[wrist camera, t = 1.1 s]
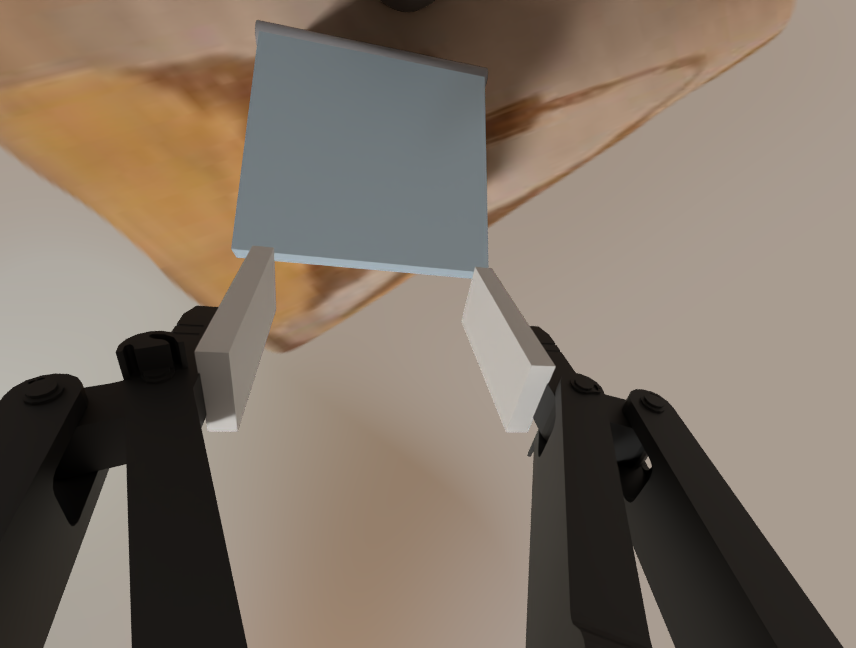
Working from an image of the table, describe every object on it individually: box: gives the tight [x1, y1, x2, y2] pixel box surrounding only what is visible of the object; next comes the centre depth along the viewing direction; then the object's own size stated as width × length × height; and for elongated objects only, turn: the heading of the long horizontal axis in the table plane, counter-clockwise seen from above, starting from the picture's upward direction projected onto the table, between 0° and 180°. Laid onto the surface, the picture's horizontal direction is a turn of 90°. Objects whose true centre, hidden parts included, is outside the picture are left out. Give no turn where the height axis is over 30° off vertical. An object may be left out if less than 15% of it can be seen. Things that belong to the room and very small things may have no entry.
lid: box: [231, 20, 488, 279], centre depth 24 cm, size 15×14×1 cm
